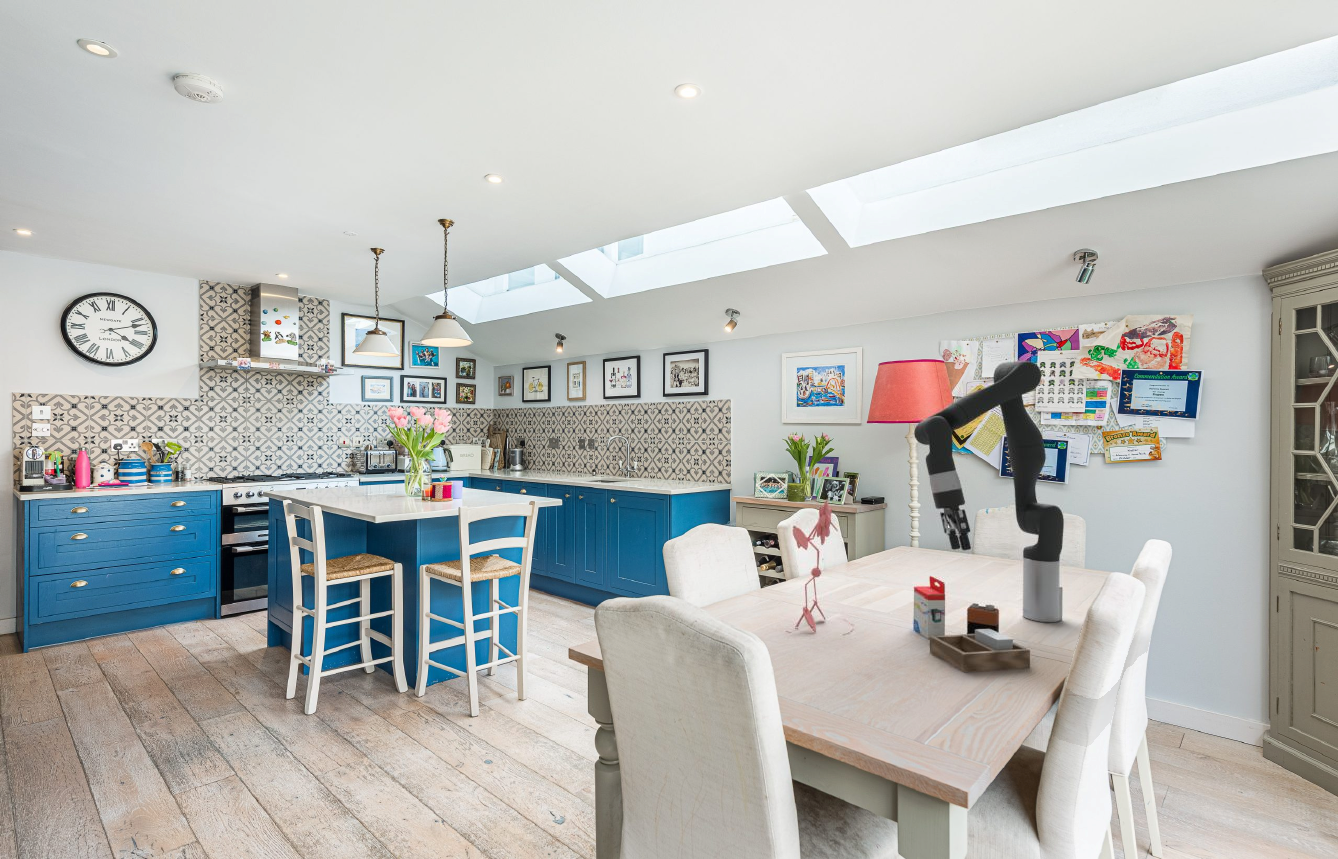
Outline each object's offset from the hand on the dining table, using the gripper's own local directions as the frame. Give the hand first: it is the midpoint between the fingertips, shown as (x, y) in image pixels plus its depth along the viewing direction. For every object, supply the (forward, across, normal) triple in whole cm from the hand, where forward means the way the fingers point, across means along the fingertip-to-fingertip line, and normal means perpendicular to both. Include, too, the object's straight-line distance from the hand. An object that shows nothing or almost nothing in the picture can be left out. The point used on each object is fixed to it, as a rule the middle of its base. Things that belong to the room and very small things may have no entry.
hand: (961, 549), depth 173 cm
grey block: (+25, -16, +4) cm, 30 cm away
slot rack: (+24, -17, +7) cm, 30 cm away
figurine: (+15, +4, +39) cm, 42 cm away
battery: (+24, -4, +2) cm, 24 cm away
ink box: (+21, +2, +13) cm, 24 cm away
